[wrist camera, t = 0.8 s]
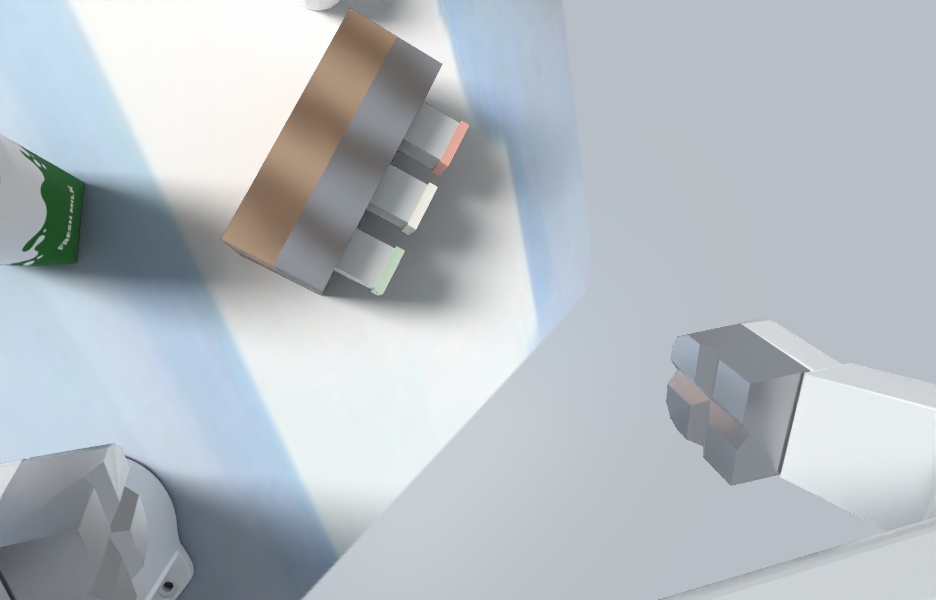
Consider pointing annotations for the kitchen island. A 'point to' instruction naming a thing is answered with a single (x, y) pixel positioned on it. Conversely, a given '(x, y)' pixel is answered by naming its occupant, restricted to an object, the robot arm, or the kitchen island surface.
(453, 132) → the coral button
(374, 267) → the sage button
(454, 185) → the kitchen island surface
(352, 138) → the console
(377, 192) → the cream button
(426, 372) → the kitchen island surface
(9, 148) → the milk carton
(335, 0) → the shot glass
